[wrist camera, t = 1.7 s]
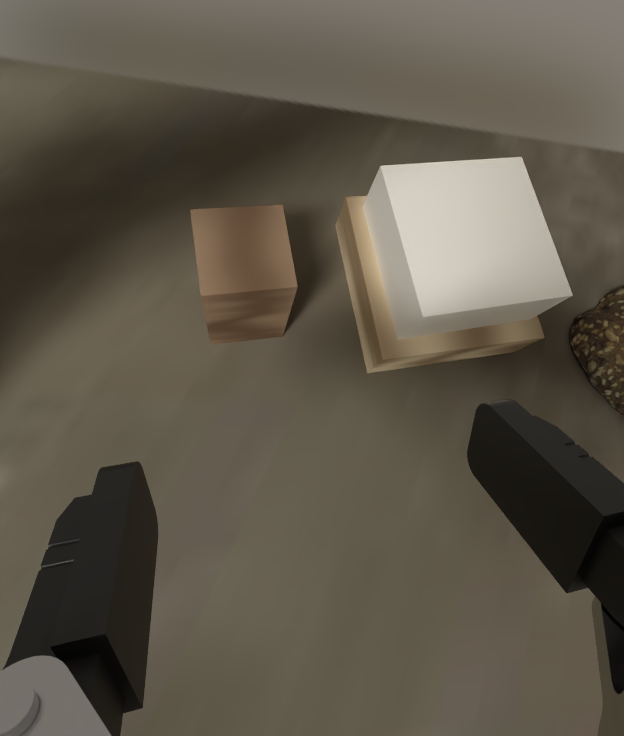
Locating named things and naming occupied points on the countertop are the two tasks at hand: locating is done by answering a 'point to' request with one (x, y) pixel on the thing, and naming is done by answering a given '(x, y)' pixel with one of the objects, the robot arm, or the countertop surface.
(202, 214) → the walnut block
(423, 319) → the tower top
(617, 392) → the bread roll
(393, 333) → the tower base
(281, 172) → the countertop surface
